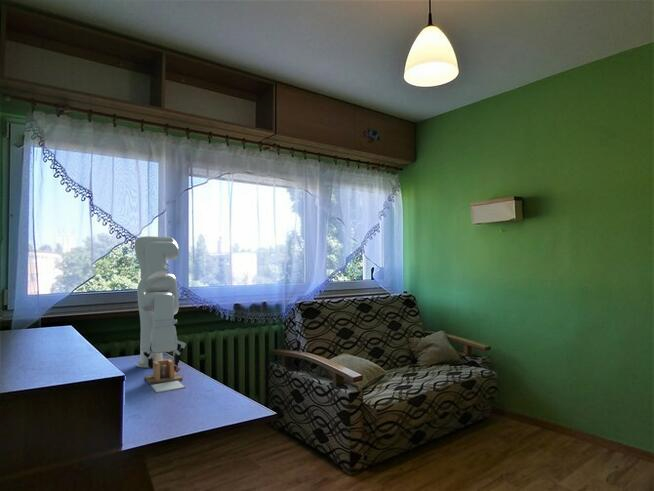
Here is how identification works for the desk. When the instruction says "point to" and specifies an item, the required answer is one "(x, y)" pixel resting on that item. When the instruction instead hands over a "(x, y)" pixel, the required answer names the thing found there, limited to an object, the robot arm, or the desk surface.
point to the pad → (167, 386)
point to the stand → (163, 377)
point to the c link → (157, 368)
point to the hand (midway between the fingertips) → (163, 366)
